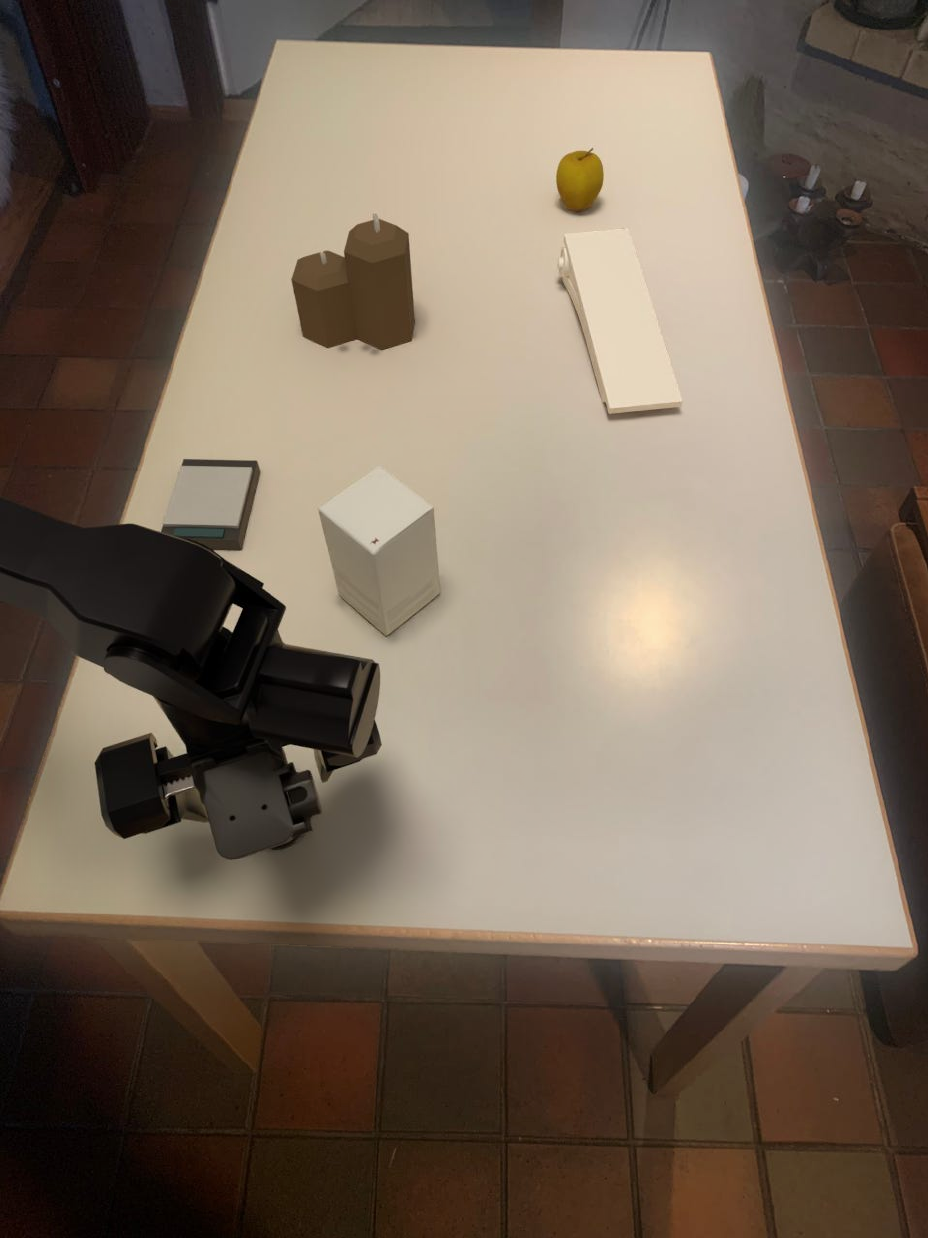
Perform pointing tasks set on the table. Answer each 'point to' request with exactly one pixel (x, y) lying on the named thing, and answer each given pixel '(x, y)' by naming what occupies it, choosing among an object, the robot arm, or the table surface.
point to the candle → (358, 289)
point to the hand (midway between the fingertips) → (265, 796)
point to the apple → (579, 179)
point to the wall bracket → (618, 321)
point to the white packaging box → (382, 548)
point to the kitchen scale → (212, 502)
